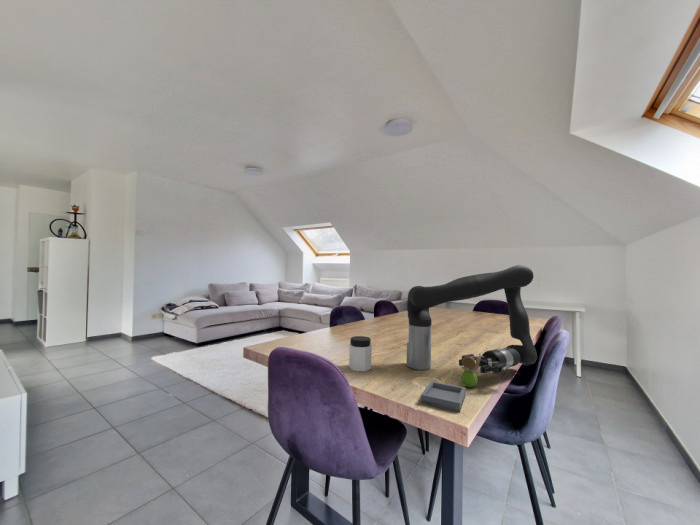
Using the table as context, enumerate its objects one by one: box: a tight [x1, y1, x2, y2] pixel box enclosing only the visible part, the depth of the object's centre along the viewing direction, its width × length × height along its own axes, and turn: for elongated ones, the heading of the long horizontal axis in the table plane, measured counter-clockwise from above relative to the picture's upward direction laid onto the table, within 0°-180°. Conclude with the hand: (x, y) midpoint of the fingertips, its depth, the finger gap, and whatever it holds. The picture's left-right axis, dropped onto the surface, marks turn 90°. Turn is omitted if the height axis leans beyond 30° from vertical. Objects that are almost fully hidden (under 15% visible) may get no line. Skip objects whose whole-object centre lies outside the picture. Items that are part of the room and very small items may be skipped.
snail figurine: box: [460, 352, 482, 388], centre depth 102 cm, size 5×6×12 cm
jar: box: [348, 335, 373, 373], centre depth 119 cm, size 9×8×12 cm
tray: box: [420, 380, 467, 413], centre depth 92 cm, size 11×13×2 cm
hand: (470, 366), depth 102 cm, fingers open, 8 cm apart
